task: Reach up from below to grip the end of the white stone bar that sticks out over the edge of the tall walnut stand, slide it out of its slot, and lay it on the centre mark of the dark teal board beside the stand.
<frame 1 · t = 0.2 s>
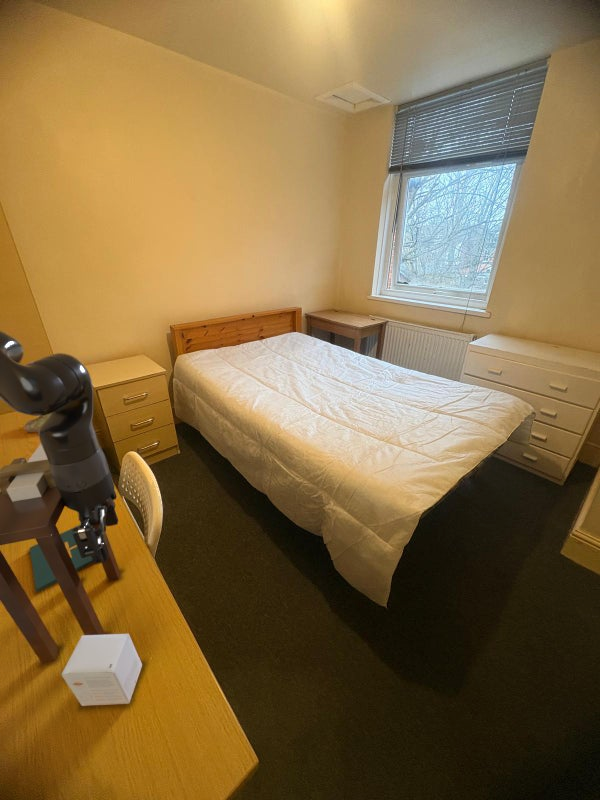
hand: (107, 541, 60), 18 cm above the table, tool pointing down, fingers open, 8 cm apart
small box: (113, 685, 56), on the table
board: (69, 552, 79), on the table
rock: (42, 427, 131), on the table
stone bar: (47, 466, 58), point 32 cm above the table, touching stand
stand: (86, 612, 66), on the table
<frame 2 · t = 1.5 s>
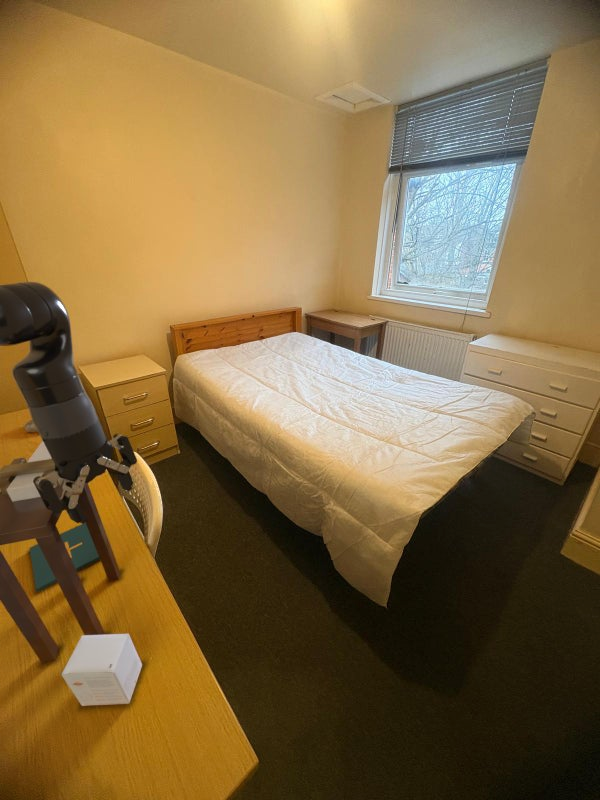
hand: (106, 504, 55), 28 cm above the table, tool pointing down, fingers open, 8 cm apart
nothing on the table moved.
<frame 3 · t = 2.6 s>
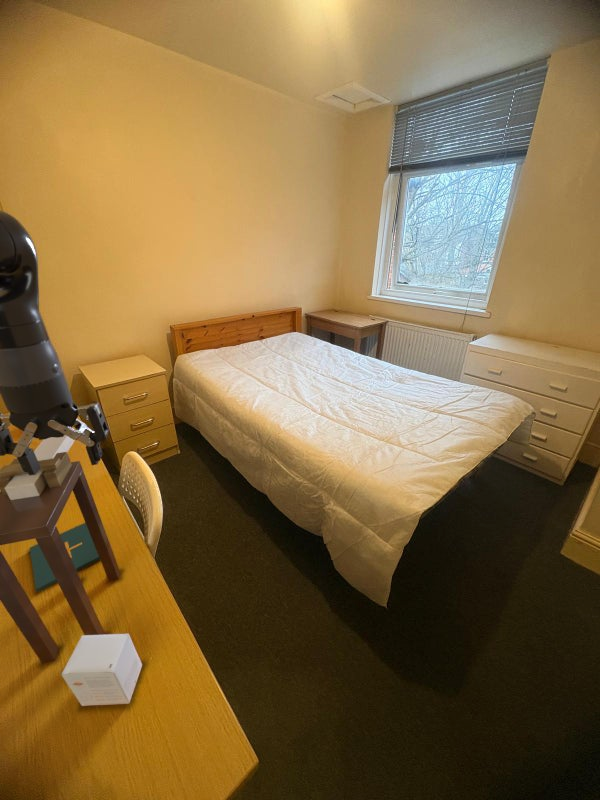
hand: (66, 466, 52), 36 cm above the table, tool pointing down, fingers open, 8 cm apart
nothing on the table moved.
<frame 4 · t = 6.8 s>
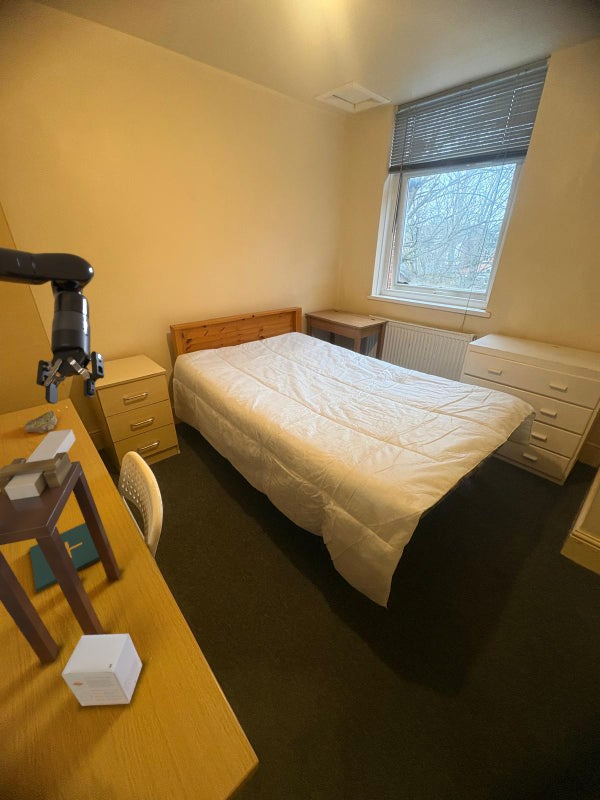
hand: (70, 400, 72), 37 cm above the table, tool tilted 40°, fingers open, 8 cm apart
nothing on the table moved.
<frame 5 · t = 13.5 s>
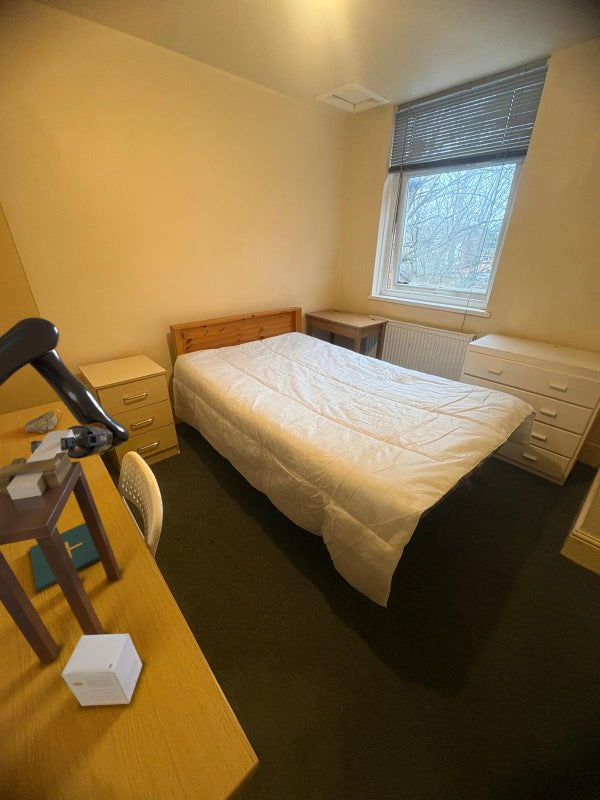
hand: (49, 445, 60), 35 cm above the table, tool pointing upward, fingers closed on stone bar, 4 cm apart
stone bar: (48, 465, 59), point 32 cm above the table, touching gripper, stand
everything else where it was.
when the fingers open (5 cm above the table, at t = 25.6 s): stone bar drops 3 cm, resting on board.
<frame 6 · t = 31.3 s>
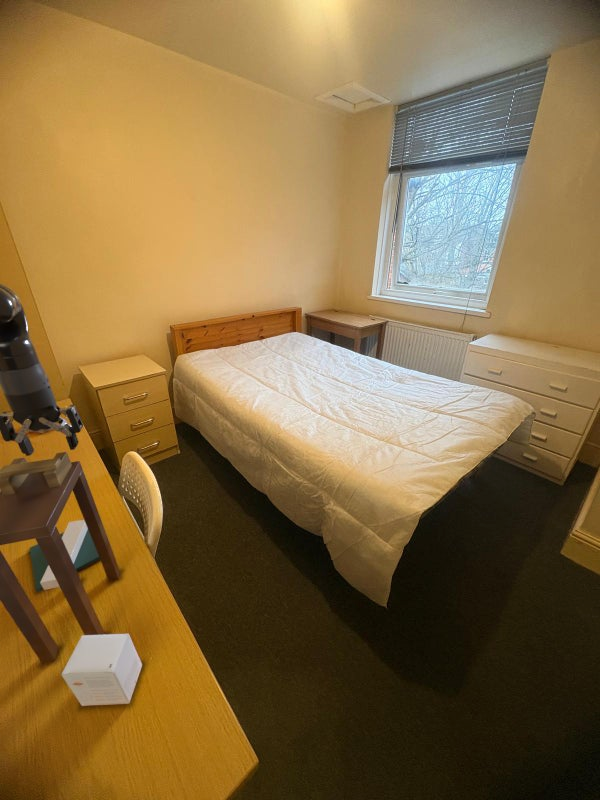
hand: (52, 450, 73), 26 cm above the table, tool pointing down, fingers open, 8 cm apart
stone bar: (68, 554, 77), point 1 cm above the table, touching board
everything else where it was.
at the end: stone bar inside the target area on the board (1.7 cm from its centre), point 1.1 cm above the board's base; the gripper is holding nothing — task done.
